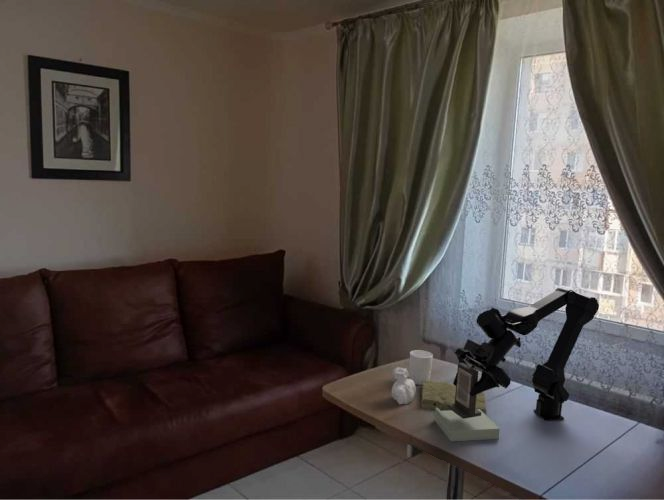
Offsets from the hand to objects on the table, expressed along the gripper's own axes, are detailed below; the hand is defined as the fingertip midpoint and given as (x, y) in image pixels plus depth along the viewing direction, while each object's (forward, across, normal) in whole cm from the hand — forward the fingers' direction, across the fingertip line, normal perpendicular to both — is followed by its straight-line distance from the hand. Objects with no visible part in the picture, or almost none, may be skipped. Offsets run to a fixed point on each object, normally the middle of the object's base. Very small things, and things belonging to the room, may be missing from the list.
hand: (462, 389), depth 146 cm
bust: (+12, -24, +6) cm, 27 cm away
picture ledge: (+7, -1, +11) cm, 13 cm away
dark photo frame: (+4, 0, +6) cm, 7 cm away
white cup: (+2, -35, +16) cm, 38 cm away
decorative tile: (+2, -18, +17) cm, 24 cm away
